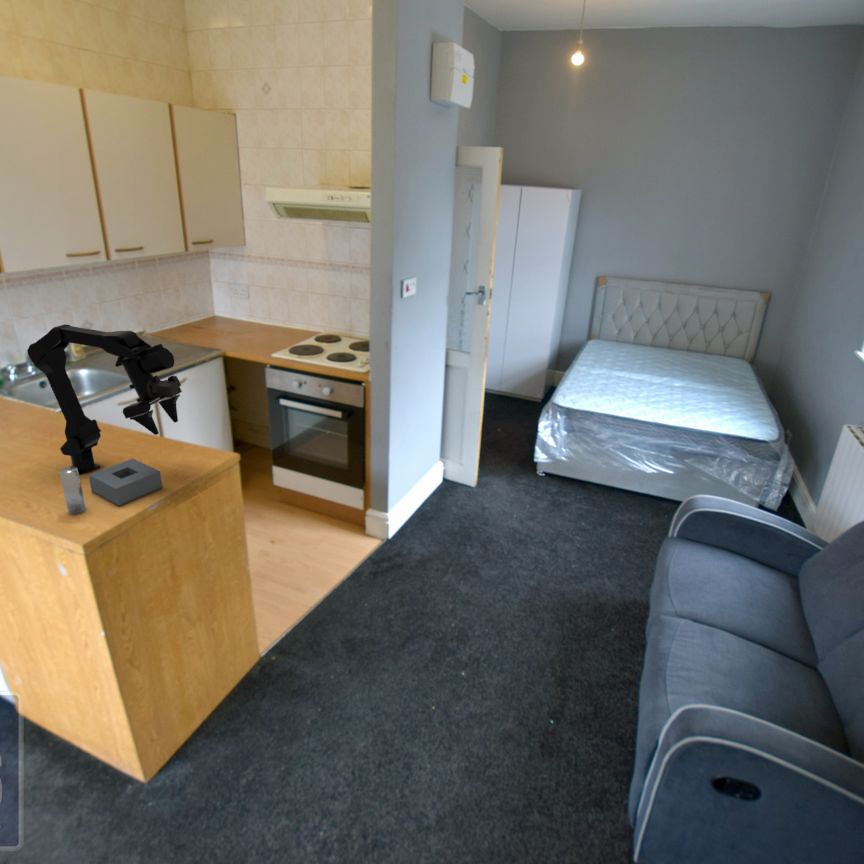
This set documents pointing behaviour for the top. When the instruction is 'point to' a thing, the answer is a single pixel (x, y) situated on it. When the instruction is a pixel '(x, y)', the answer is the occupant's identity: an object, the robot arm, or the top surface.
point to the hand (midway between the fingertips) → (166, 428)
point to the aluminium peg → (72, 490)
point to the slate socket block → (125, 482)
